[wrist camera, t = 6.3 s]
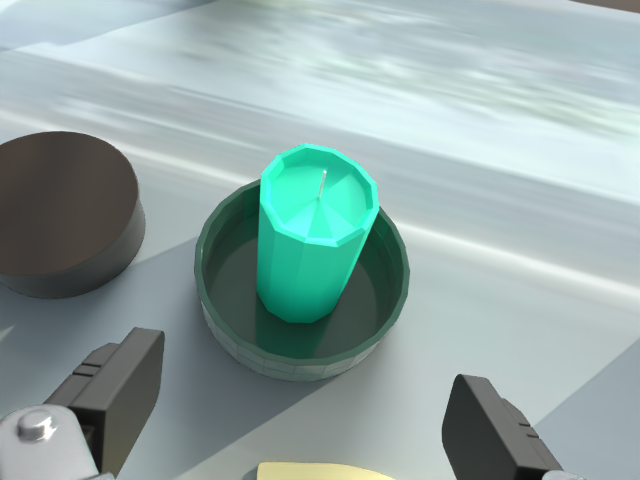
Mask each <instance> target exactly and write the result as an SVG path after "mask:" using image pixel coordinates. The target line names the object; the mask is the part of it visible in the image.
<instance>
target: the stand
mask: <svg viewBox="0 0 640 480" xmlns="http://www.w3.org/2000/svg"><path fill="white" fill-rule="evenodd" d="M139 193H140V192H139V183H138V180H137V176H136V173H135V171H134V169H133V167H132V165H131V164H130V162H129V161H128V159H127V158H126V157H125V156H124V155H123V154H122V153H121V152H120V151H119V150H118V149H116V148H115V147H114V146H112V145H111V144H109V143H107V142H105V141H103V140H101V139H99V138H96V137H93V136H90V135H86V134H81V133H76V132H65V131H52V132H42V133H36V134H31V135H27V136H23V137H19V138H16V139H14V140H11V141H8V142H6V143H4V144H2V145H0V282H1V283H2V284H4V285H5V286H7V287H8V288H10V289H11V290H14V291H16V292H18V293H20V294H23V295H27V296H30V297H36V298H45V299H57V298H66V297H72V296H77V295H80V294H83V293H87V292H89V291H92V290H94V289H96V288H98V287H100V286H102V285H104V284H106V283H107V282H109V281H110V280H112V279H113V278H115V277H116V276H117V275H118V274H120V273H121V272H122V271H123V270H124V269H125V268H126V267H127V266H128V265H129V264H130V262H131V261H132V260H133V258H134V257H135V256H136V254H137V252H138V250H139V248H140V246H141V243H142V241H143V237H144V233H145V215H144V212H143V208H142V205H141V202H140V199H139Z"/></svg>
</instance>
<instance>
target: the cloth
mask: <svg viewBox="0 0 640 480" xmlns="http://www.w3.org/2000/svg"><path fill="white" fill-rule="evenodd" d="M257 480H394V479H392V478H390V477H387V476H385V475H382V474H380V473H377V472H374V471H370V470H366V469H363V468H359V467H355V466H348V465H341V464H334V463H289V462H262V463H261V464H259V467H258V470H257Z"/></svg>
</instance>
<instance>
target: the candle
mask: <svg viewBox="0 0 640 480" xmlns="http://www.w3.org/2000/svg"><path fill="white" fill-rule="evenodd" d="M378 211H379V202H378V193H377V184H376V183H375V182H374V181H373V179H372V178H371V177H370V176H369V175H368V174H367V172H366V171H365V170H364V169H363V168H362V167H361V165H360V164H358V163H357V162H355V161H353V160H352V159H350V158H348V157H347V156H345V155H343V154H342V153H340V152H338V151H337V150H335V149H333V148H328V147H323V146H318V145H312V144H307V143H303V144H301V145H299V146H297V147H294V148H292V149H290V150H288V151H285V152H283V153H281V154H279V155H277V156H276V157H275V159H274V160H273V161H272V162H271V163H270V165H269V166H268V167H267V168H266V169H265V170H264V172H263V173H262V174H261V186H260V207H259V234H258V260H257V286H256V292H257V293H258V295H259V297H260V299H261V300H262V302H263V304H264V306H265V307H266V309H267V311H269V312H271V313H272V314H274V315H276V316H277V317H279V318H281V319H283V320H284V321H286V322H288V323H313V322H315V321H317V320H318V319H320V318H322V317H324V316H326V315H328V314H330V313H332V311H333V309H334V307H335V306H336V304H337V302H338V300H339V299H340V297H341V295H342V293H343V291H344V289H345V287H346V284H347V282H348V280H349V277H350V275H351V273H352V271H353V268H354V266H355V264H356V261H357V259H358V257H359V255H360V252H361V250H362V248H363V245H364V243H365V241H366V239H367V236H368V234H369V232H370V229H371V227H372V225H373V223H374V220H375V218H376V216H377V213H378Z"/></svg>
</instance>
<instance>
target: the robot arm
mask: <svg viewBox="0 0 640 480" xmlns="http://www.w3.org/2000/svg"><path fill="white" fill-rule="evenodd" d="M164 341H165V335H164V332H163V331H158V330H151V329H144V328H137V327H135V328H133V329H132V330H131V332H130V333H129V334H128V335H127V336H126V338H125V339H124V340H123V341H122V342H121V343H120V344H115V343H108V344H106V345H104V346H102V347H100V348H98V349H96V350H94V351H92V352H91V353H90V354H89V355H88V356H87V357H86V358H85V360H84V361H83V362H82V363H81V365H79V366H78V367H77V368H76V369H75V370H74V371H73V373H72V375H69V377H68V378H67V379H66V380H65V381H64V382H63V383H62V384H61V385H60V386H59V387H58V388H57V389H56V390H55V391H54V392H53V394H52V395H51V396H50V397H49V398H48V399H47V400H46V401H45V402H44V403H43V404H42V405H34V406H29V407H25V408H22V409H19V410H16V411H14V412H12V413H10V414H8V415H7V416H5V417H4V418H2V419H1V420H0V480H115V479H116V477H117V475H118V473H119V472H120V470H121V468H122V466H123V464H124V462H125V461H126V459H127V457H128V455H129V453H130V451H131V449H132V448H133V446H134V444H135V442H136V440H137V438H138V436H139V435H140V433H141V431H142V429H143V427H144V425H145V423H146V422H147V420H148V418H149V416H150V414H151V412H152V411H153V409H154V406H155V404H156V401H157V398H158V394H159V389H160V383H161V373H162V362H163V352H164ZM442 443H443V447H444V449H445V452H446V454H447V457H448V459H449V462H450V464H451V466H452V469H453V471H454V474H455V476H456V478H457V480H586V479H584V478H582V477H580V476H577V475H575V474H572V473H569V472H565V471H564V470H563V469H562V467H561V466H560V465H559V463H558V462H557V460H556V459H555V458H554V456H553V455H552V454H551V452H550V451H549V449H548V448H547V447H546V445H545V444H544V443H543V441H542V440H541V439H539V436H538V434H537V433H536V432H535V430H534V429H533V428H532V427H530V423H529V422H528V421H527V419H526V418H525V417H524V415H523V414H522V413H521V411H520V410H518V409H517V408H516V407H515V406H513V405H512V404H511V403H510V402H508V401H507V400H506V399H503V398H501V397H500V396H499V394H498V393H497V391H496V390H495V389H494V387H493V386H492V384H491V383H490V381H489V380H488V379H487V378H483V377H476V376H469V375H462V374H459V375H457V376H456V378H455V380H454V383H453V387H452V390H451V394H450V398H449V402H448V405H447V409H446V413H445V416H444V420H443V424H442Z"/></svg>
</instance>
